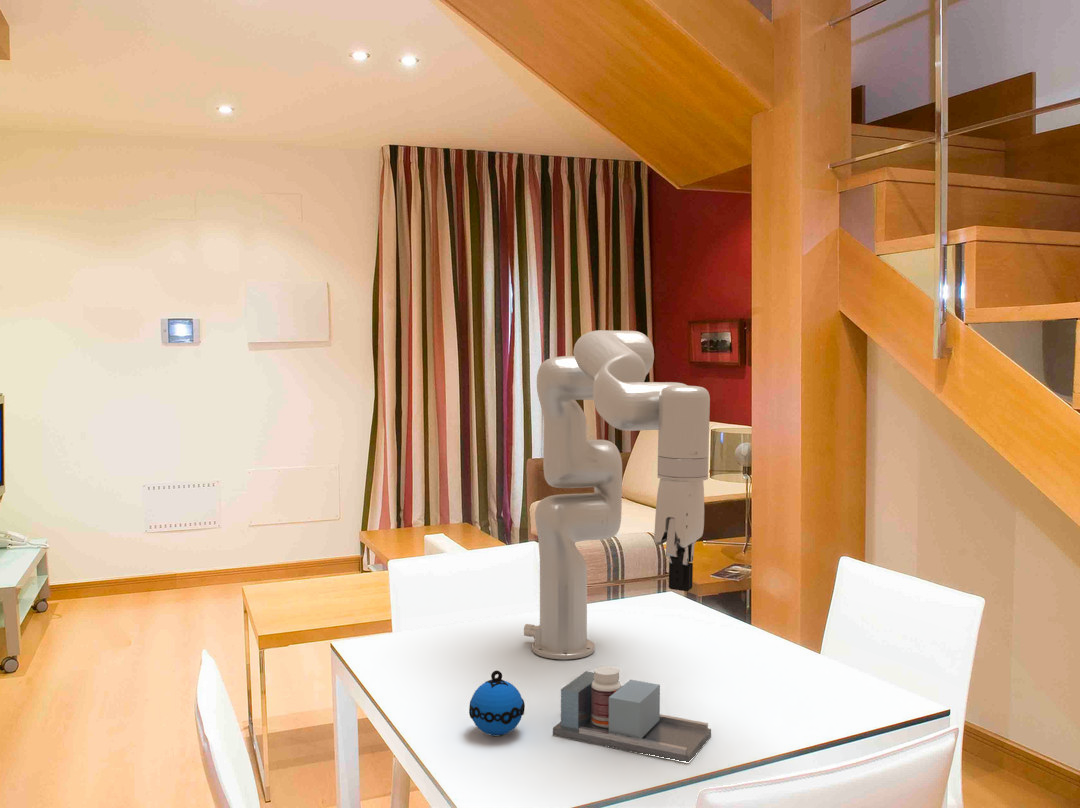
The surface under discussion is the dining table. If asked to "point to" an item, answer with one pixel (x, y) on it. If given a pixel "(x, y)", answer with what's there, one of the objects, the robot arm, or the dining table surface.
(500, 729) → the ornament
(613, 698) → the plate
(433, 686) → the dining table surface
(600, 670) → the pill bottle
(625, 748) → the vise base
